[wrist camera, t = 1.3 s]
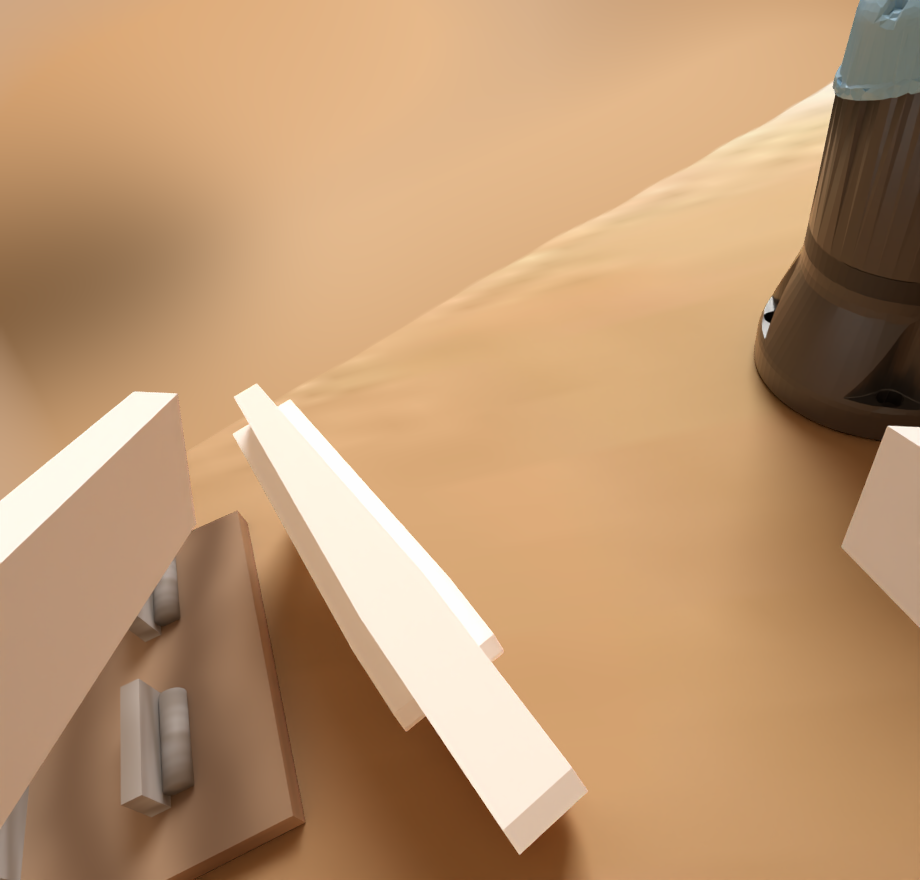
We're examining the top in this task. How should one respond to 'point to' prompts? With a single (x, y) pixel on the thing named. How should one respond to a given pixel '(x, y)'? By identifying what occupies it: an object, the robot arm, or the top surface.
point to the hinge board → (169, 737)
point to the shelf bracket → (407, 621)
